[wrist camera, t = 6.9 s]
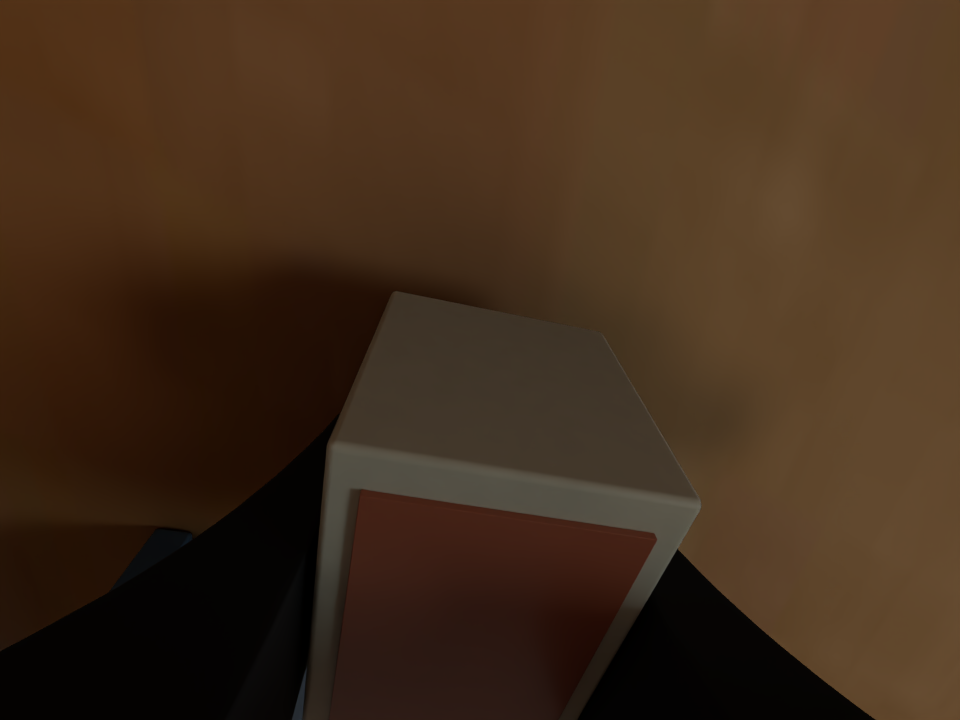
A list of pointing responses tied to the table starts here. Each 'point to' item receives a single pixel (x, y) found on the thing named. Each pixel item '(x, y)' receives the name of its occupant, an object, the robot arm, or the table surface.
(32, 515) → the table surface
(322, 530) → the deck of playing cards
